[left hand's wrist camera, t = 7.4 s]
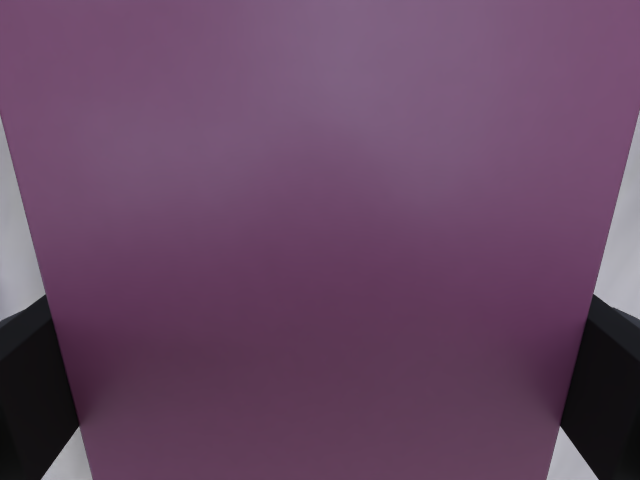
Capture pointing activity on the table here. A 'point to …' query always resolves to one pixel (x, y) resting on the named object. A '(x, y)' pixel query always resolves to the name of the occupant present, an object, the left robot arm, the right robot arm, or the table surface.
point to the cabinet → (319, 225)
